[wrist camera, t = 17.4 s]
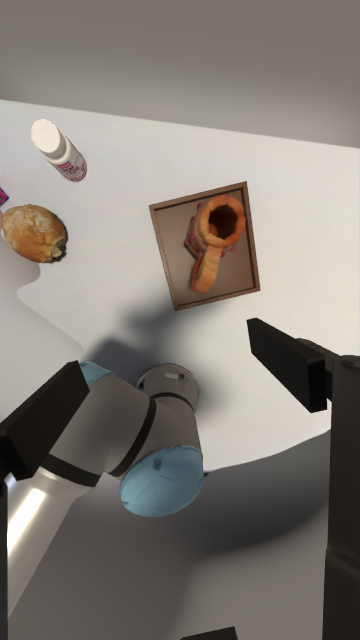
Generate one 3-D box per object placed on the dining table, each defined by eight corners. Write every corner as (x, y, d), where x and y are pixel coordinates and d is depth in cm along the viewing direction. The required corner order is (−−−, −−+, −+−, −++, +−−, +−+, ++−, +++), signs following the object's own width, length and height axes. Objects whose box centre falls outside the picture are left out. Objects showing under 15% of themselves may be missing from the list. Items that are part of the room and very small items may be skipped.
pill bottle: (76, 187, 36) (49, 163, 28) (55, 167, 35) (20, 136, 27) (92, 166, 36) (69, 135, 27) (70, 144, 35) (39, 106, 27)
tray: (256, 289, 43) (260, 290, 41) (174, 309, 43) (174, 311, 41) (242, 185, 38) (246, 181, 36) (149, 208, 38) (148, 205, 36)
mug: (192, 207, 38) (206, 168, 23) (231, 221, 38) (268, 191, 24) (172, 281, 41) (173, 288, 26) (208, 292, 42) (229, 304, 27)
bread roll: (68, 215, 41) (37, 182, 33) (78, 258, 39) (47, 234, 31) (24, 231, 41) (-17, 202, 33) (32, 274, 39) (-10, 254, 31)
